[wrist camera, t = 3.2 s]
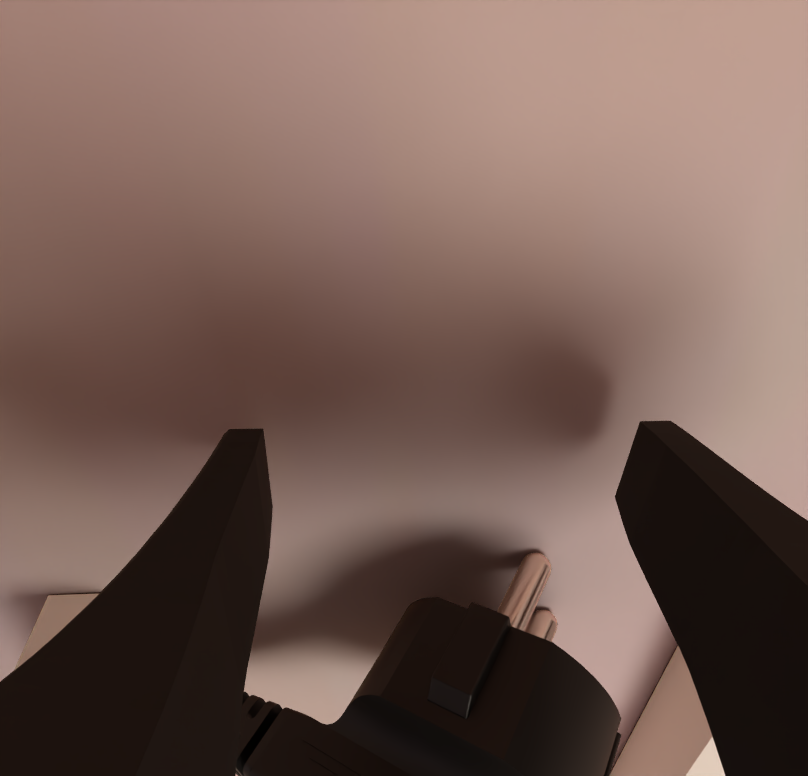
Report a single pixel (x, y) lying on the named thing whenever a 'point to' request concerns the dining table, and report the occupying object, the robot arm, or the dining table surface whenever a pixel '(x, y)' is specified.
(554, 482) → the dining table surface
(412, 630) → the power plug
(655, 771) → the socket dock
